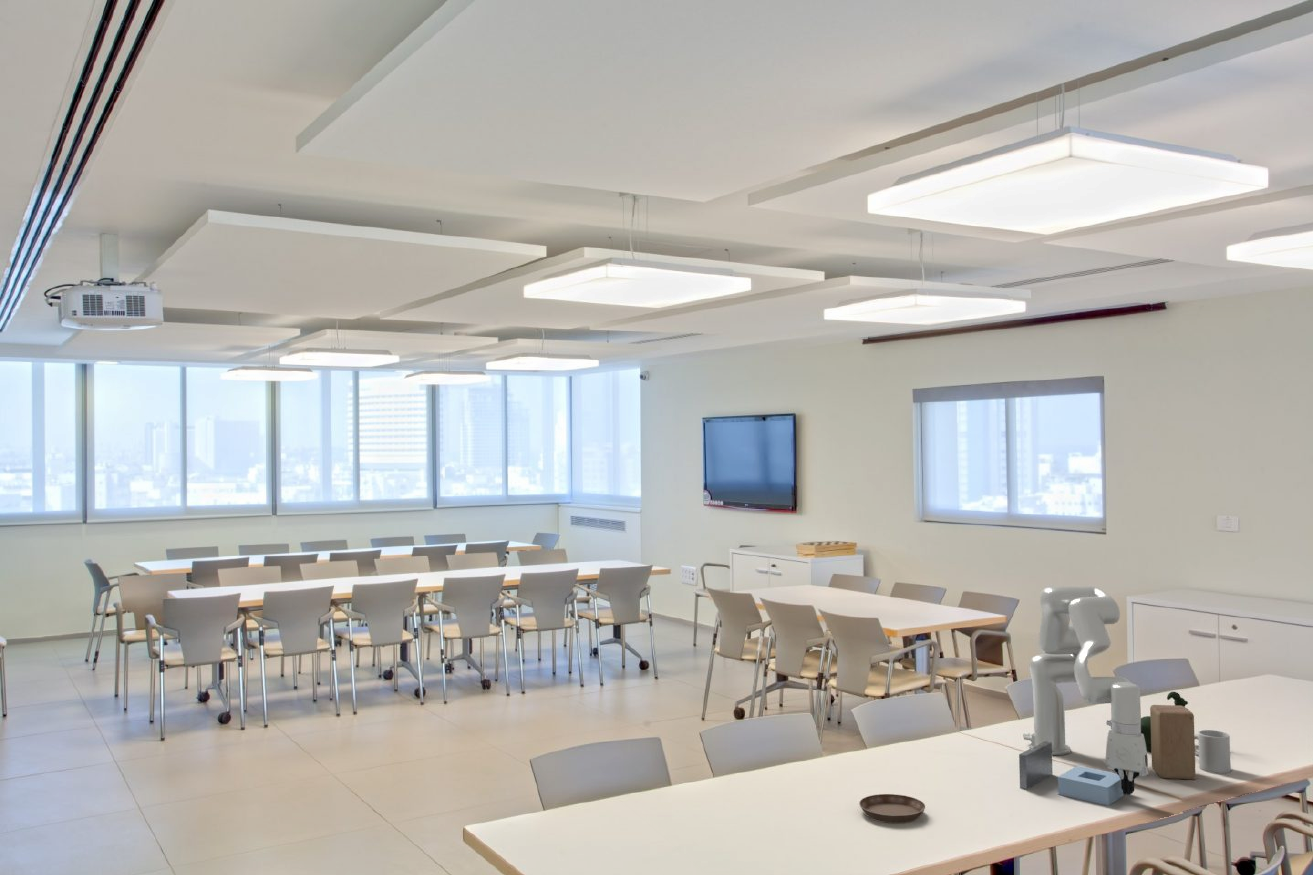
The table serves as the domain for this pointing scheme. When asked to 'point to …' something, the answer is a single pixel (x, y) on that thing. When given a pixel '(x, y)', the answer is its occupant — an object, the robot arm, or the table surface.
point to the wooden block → (1172, 741)
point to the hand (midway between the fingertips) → (1128, 793)
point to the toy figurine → (1147, 720)
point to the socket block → (1090, 785)
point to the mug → (1213, 751)
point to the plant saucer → (892, 808)
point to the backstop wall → (1035, 765)
